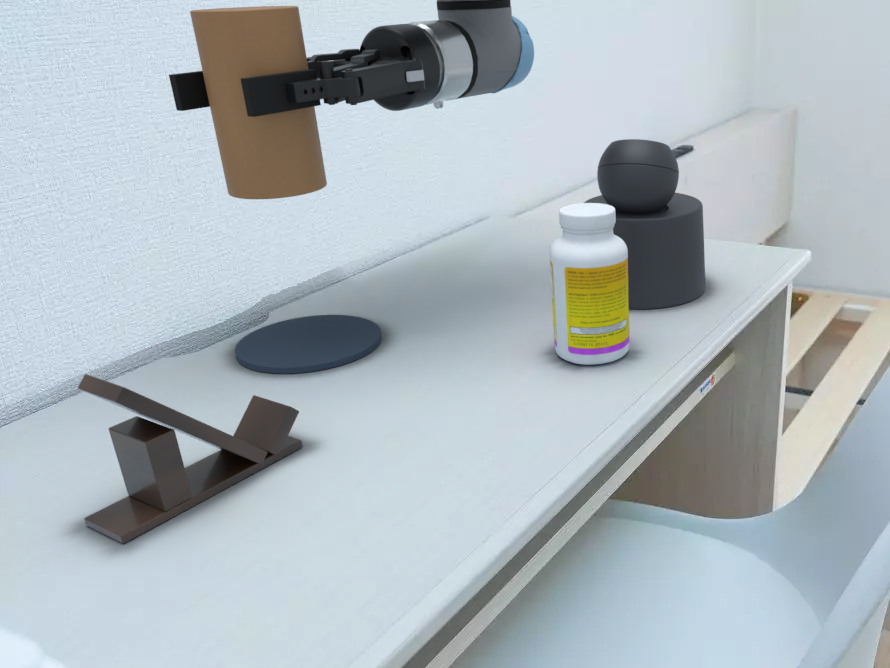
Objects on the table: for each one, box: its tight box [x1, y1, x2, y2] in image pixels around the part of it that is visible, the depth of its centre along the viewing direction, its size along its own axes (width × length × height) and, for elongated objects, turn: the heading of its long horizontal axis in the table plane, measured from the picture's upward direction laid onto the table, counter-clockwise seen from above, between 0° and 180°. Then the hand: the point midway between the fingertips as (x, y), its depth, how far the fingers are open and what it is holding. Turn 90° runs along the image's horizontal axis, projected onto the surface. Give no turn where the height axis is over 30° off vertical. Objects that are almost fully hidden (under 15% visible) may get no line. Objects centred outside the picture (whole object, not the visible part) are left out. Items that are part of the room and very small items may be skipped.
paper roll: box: [189, 5, 328, 200], centre depth 73 cm, size 8×16×16 cm
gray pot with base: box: [583, 138, 707, 310], centre depth 92 cm, size 13×16×14 cm
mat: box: [234, 314, 383, 375], centre depth 83 cm, size 13×13×1 cm
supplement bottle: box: [549, 202, 630, 366], centre depth 77 cm, size 7×7×13 cm
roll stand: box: [77, 373, 303, 545], centre depth 59 cm, size 4×14×9 cm, turn 148°
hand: (210, 95), depth 69 cm, fingers closed on paper roll, 8 cm apart
